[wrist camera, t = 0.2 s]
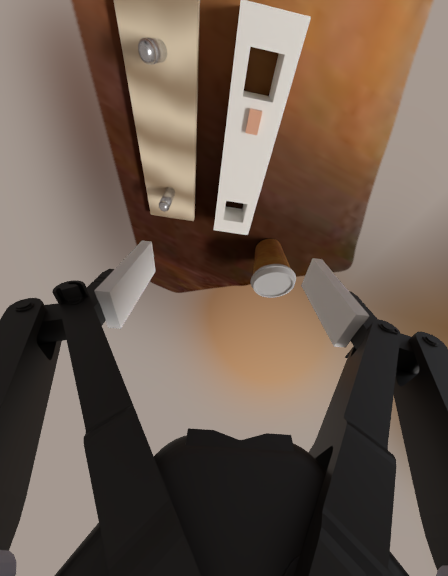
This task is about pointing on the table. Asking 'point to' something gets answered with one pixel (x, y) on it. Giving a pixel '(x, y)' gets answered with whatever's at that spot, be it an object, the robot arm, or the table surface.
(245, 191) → the power strip
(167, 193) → the chrome knobs
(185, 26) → the hanger board
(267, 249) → the disposable coffee cup
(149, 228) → the table surface
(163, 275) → the table surface
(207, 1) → the table surface
